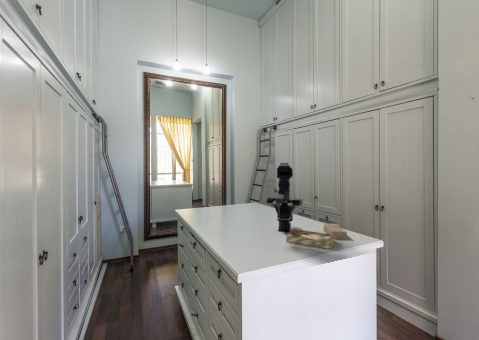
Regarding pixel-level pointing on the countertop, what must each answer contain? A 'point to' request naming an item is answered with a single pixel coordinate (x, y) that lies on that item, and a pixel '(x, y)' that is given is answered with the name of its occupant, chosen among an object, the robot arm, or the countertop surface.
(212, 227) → the countertop surface
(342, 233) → the brick
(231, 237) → the countertop surface
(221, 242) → the countertop surface
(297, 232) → the walnut block
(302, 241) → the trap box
